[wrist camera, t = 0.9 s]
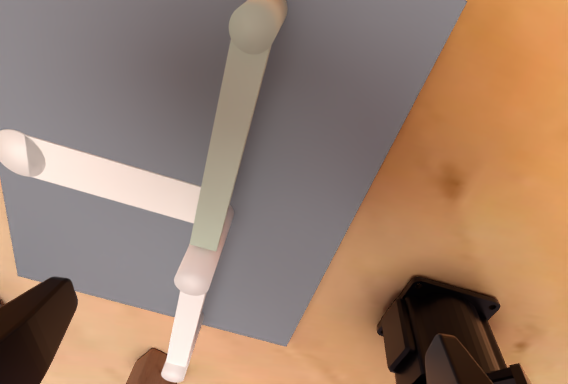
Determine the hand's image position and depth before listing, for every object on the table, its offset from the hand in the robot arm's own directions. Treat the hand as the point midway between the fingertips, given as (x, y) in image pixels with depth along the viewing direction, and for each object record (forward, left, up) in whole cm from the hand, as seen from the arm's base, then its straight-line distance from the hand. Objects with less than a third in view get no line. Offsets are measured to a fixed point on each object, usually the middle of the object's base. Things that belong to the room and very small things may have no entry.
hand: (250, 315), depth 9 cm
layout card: (+5, +6, -13) cm, 15 cm away
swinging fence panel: (+2, 0, -12) cm, 12 cm away
